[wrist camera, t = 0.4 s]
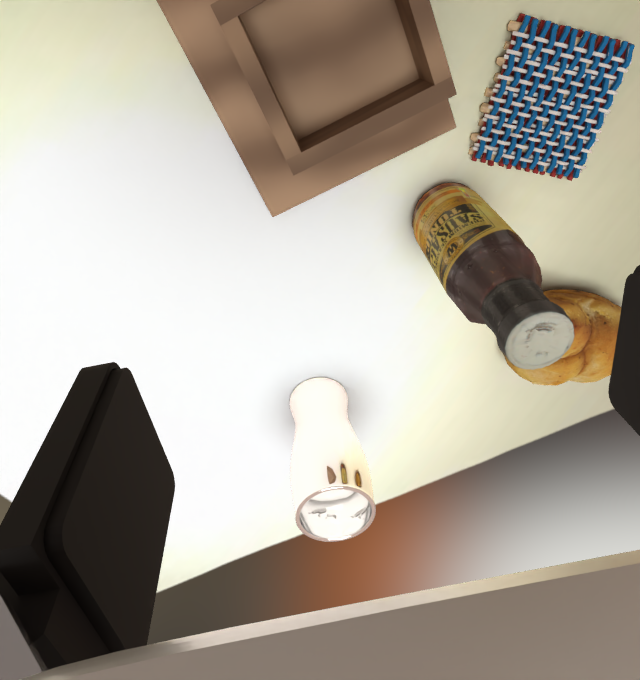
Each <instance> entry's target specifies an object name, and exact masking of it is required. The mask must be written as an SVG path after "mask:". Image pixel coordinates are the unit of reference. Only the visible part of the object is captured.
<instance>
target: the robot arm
mask: <svg viewBox="0 0 640 680" xmlns="http://www.w3.org/2000/svg"><path fill="white" fill-rule="evenodd" d="M609 398H610V401H611V403H612V405H613V407H614V408H615V410H616V411H617V412H618V413H619V414H620V415H621V416H622V417H623V418H624V419H625V420H626V421H627V423H628V424H629V425H630V426H631V427H632V428H633V429H634V430H635V431H636V432H637V433H638V435H639V436H640V265H639V266H637V268H636V269H635V271H634V273H633V274H630V275H629V276H628V277H627V279H626V283H625V288H624V295H623V301H622V307H621V314H620V320H619V327H618V333H617V339H616V346H615V352H614V358H613V365H612V371H611V378H610V384H609ZM174 491H175V481H174V475H173V472H172V469H171V467H170V464H169V462H168V459H167V457H166V455H165V452H164V450H163V447H162V445H161V443H160V440H159V438H158V435H157V433H156V431H155V428H154V426H153V423H152V421H151V419H150V416H149V414H148V411H147V409H146V407H145V404H144V402H143V399H142V397H141V395H140V392H139V390H138V387H137V385H136V383H135V380H134V378H133V375H132V373H131V371H130V370H129V369H128V368H122V369H120V367H119V366H118V364H117V363H114V362H112V363H107V364H101V365H96V366H91V367H85V368H82V369H81V370H80V372H79V374H78V376H77V378H76V380H75V382H74V383H73V385H72V387H71V389H70V391H69V393H68V395H67V397H66V399H65V401H64V403H63V405H62V407H61V409H60V411H59V413H58V415H57V416H56V418H55V420H54V422H53V424H52V426H51V428H50V430H49V432H48V434H47V436H46V438H45V440H44V442H43V444H42V446H41V448H40V449H39V451H38V453H37V455H36V457H35V459H34V461H33V463H32V465H31V467H30V469H29V471H28V473H27V475H26V477H25V479H24V480H23V482H22V484H21V486H20V488H19V490H18V492H17V494H16V496H15V498H14V500H13V502H12V504H11V506H10V508H9V510H8V512H7V513H6V515H5V517H4V519H3V521H2V523H1V525H0V680H640V550H636V551H631V552H626V553H620V554H615V555H609V556H605V557H599V558H593V559H588V560H582V561H577V562H572V563H566V564H561V565H556V566H550V567H546V568H540V569H535V570H529V571H524V572H518V573H513V574H508V575H503V576H497V577H492V578H486V579H482V580H476V581H471V582H465V583H460V584H455V585H450V586H445V587H439V588H433V589H428V590H423V591H418V592H412V593H407V594H402V595H397V596H391V597H386V598H381V599H377V600H371V601H366V602H360V603H355V604H350V605H345V606H340V607H335V608H329V609H325V610H319V611H314V612H309V613H304V614H299V615H293V616H288V617H283V618H278V619H273V620H267V621H262V622H257V623H252V624H247V625H242V626H237V627H231V628H226V629H222V630H218V631H212V632H207V633H203V634H198V635H193V636H188V637H184V638H179V639H174V640H170V641H165V642H160V643H155V644H151V645H147V640H148V635H149V629H150V624H151V618H152V613H153V607H154V602H155V596H156V591H157V585H158V579H159V574H160V568H161V563H162V557H163V552H164V546H165V541H166V535H167V530H168V524H169V519H170V513H171V508H172V502H173V497H174Z"/></svg>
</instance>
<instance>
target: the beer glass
mask: <svg viewBox="0 0 640 680" xmlns="http://www.w3.org/2000/svg"><path fill="white" fill-rule="evenodd" d="M290 409H291V412H292V415H293V418H294V421H295V436H294V441H293V447H292V454H291V463H290V482H291V492H292V498H293V504H294V510H295V516H296V517H295V518H296V523H297V526H298V528H299V529H300V530H301V531H302V532H303V533H304V534H305V535H307V536H308V537H310V538H313V539H316V540H320V541H326V542H335V541H342V540H346V539H350V538H352V537H355V536H357V535H359V534H360V533H362V532H363V531H365V530H366V529H367V528H368V527H369V526H370V524H371V523H372V521H373V519H374V517H375V513H376V507H375V504H374V496H373V488H372V481H371V476H370V471H369V467H368V463H367V460H366V456H365V454H364V451H363V449H362V446H361V444H360V442H359V440H358V438H357V436H356V434H355V432H354V430H353V428H352V426H351V424H350V422H349V419H348V414H347V410H348V397H347V393H346V391H345V389H344V388H343V386H342V385H341V384H340V383H338V382H337V381H335V380H332V379H329V378H323V377H318V378H312V379H309V380H306V381H304V382H302V383H301V384H299V385H298V386H297V387H296V388H295V389H294V390H293V392H292V394H291V397H290Z"/></svg>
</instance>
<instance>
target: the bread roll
mask: <svg viewBox="0 0 640 680" xmlns="http://www.w3.org/2000/svg"><path fill="white" fill-rule="evenodd" d="M543 293H544V295H545V296H546V297H547V298H548V299H549V300H550V301H551V302H553V303H555V304H557V305H559V306H560V307H561V308H563V309H564V311H565V312H566V314H567V315H568V316H569V318H570V319H571V321H572V323H573V326H574V340H573V343H572V345H571V347H570V348H569V349H568V351H567V352H566V353H565V354H564V355H563V356H562V357H561V358H560V359H559V360H558V361H556V362H554V363H553V364H551V365H549V366H546V367H543V368H538V369H533V370H531V369H522V368H518V367H516V366H514V365H513V364H512V363H511V362H510V361H509V360H508V359H507V358H506V356H505V355H504V356H505V359H506V362H507V364H508V365H509V366H510V367H511V368H512V369H513V370H514V371H515V372H516V373H517V374H518V375H519V376H520V377H522V378H524V379H526V380H528V381H530V382H532V383H533V384H538V385H559V384H562V383H564V382H566V381H574V382H581V383H586V382H596V381H598V380H601V379H603V378H605V377H607V376H609V375H611V371H612V365H613V358H614V352H615V346H616V339H617V333H618V327H619V320H620V314H621V307H620V306H618V305H615V304H613V303H612V302H611V301H609V300H608V299H605V298H604V297H601V296H599V295H597V294H594V293H589V292H584V291H580V290H569V289H557V290H548V291H544V292H543Z"/></svg>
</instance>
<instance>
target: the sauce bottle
mask: <svg viewBox="0 0 640 680" xmlns="http://www.w3.org/2000/svg"><path fill="white" fill-rule="evenodd" d="M412 227H413V230H414V235H415V238H416V241H417V242H418V244H419V246H420V248H421V249H422V251H423V253H424V254H425V256H426V258H427V260H428V261H429V263H430V265H431V266H432V268H433V270H434V272H435V273H436V275H437V277H438V279H439V280H440V282H441V284H442V286H443V287H444V289H445V291H446V293H447V295H448V296H449V297H450V298H451V299H452V301H453V302H454V303H455V304H456V305H457V307H458V308H459V309H460V310H461V311H462V313H463V314H464V315H465V316H466V318H467V319H468V320H469V321H470V322H475V323H480V324H486V325H487V326H488V327H489V328H490V329H491V330H492V331H493V332H494V334H495V335H496V337H497V342H498V346H499V348H500V350H501V351H502V352H503V354H504V355H505V356H506V358H507V359H508V360H509V361H510V362H511V363H512V364H513V365H514V366H516V367H518V368H522V369H531V370H533V369H538V368H543V367H546V366H549V365H551V364H553V363H554V362H556V361H558V360H559V359H560V358H561V357H562V356H563V355H564V354H565V353H566V352H567V351H568V349H569V348H570V347H571V345H572V343H573V340H574V326H573V323H572V321H571V319H570V318H569V316H568V315H567V314H566V312H565V311H564V309H563V308H561V307H560V306H559V305H557V304H555V303H553V302H551V301H550V300H549V299H548V298H547V297H546V296H545V295H544V293H543V291H542V289H541V283H542V276H541V270H540V267H539V264H538V263H537V261H536V258H535V256H534V254H533V253H532V252H531V251H530V249H528V247H526V246H525V244H524V242H523V241H522V239H521V238H520V237H519V236H518V235H517V234H516V233H515V232H514V231H513V230H512V229H511V227H510V226H509V225H508V224H507V223H506V222H505V221H504V220H503V219H502V218H501V217H500V216H499V215H498V214H497V213H496V212H495V211H494V210H493V209H492V208H491V207H490V206H489V205H488V204H487V203H486V202H485V201H484V200H483V199H482V198H481V197H480V196H479V195H478V194H477V193H476V192H475V191H473V190H471V189H470V188H468V187H467V186H465V185H462V184H459V183H443V184H440V185H438V186H436V187H434V188H433V189H431V190H429V191H428V192H427V193H425V194H424V195H423V197H422V198H421V199H420V200H419V201H418V203H417V205H416V208H415V212H414V215H413V221H412Z"/></svg>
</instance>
